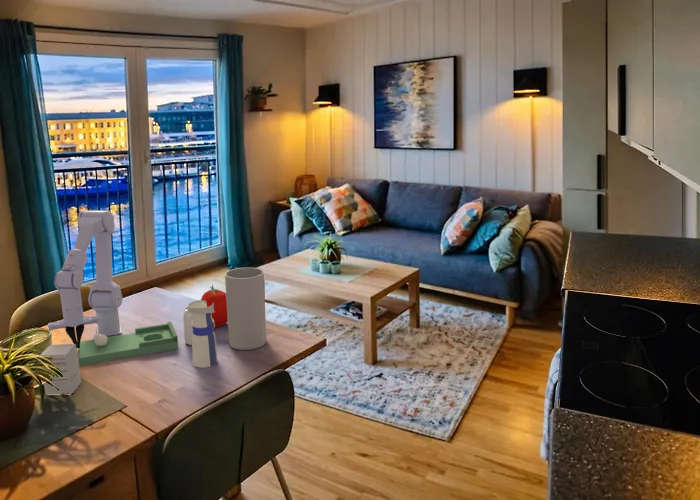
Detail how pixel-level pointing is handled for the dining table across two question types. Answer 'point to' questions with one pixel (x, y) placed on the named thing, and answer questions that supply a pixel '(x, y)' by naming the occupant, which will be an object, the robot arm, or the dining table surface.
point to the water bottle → (203, 333)
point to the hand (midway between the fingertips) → (77, 347)
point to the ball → (100, 340)
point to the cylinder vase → (245, 308)
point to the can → (188, 327)
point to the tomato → (217, 306)
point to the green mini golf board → (130, 344)
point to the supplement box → (64, 369)
